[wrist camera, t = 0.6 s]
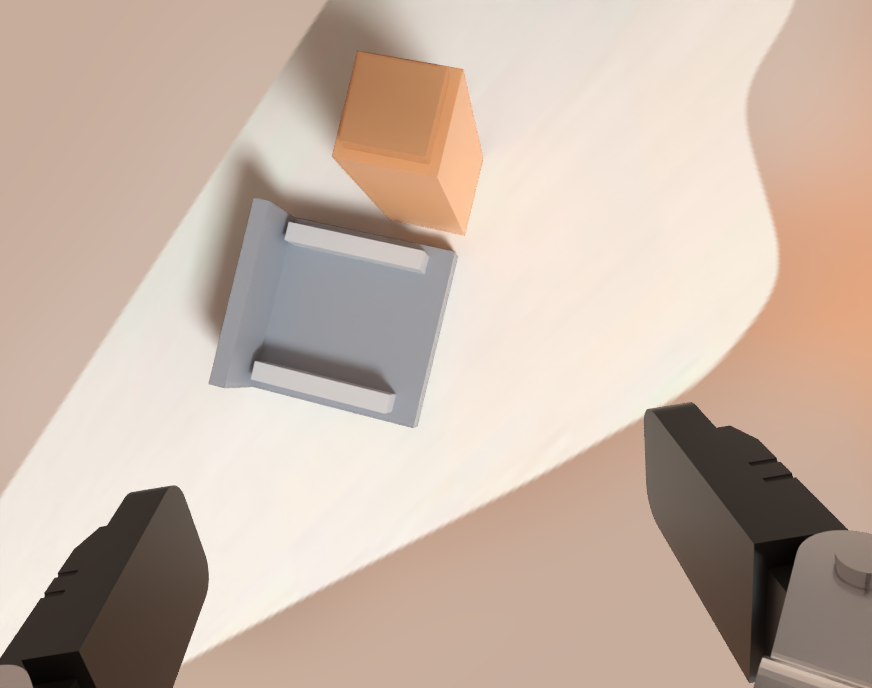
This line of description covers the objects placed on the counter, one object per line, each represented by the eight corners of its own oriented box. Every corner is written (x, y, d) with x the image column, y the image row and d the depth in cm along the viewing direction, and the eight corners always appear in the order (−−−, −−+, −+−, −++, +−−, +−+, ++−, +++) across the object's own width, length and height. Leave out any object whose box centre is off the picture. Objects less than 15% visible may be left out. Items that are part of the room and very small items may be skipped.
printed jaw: (407, 144, 34) (351, 40, 24) (483, 158, 34) (460, 58, 23) (389, 219, 34) (325, 149, 24) (464, 235, 34) (433, 170, 23)
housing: (288, 219, 35) (253, 197, 31) (457, 256, 34) (446, 238, 29) (248, 383, 35) (208, 383, 31) (417, 426, 34) (400, 433, 29)
